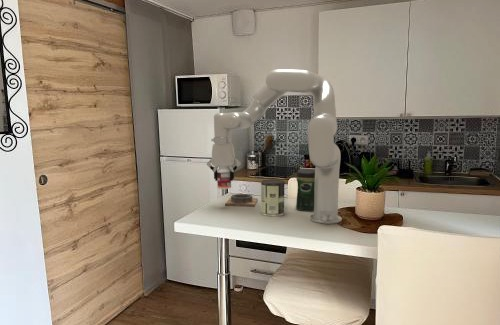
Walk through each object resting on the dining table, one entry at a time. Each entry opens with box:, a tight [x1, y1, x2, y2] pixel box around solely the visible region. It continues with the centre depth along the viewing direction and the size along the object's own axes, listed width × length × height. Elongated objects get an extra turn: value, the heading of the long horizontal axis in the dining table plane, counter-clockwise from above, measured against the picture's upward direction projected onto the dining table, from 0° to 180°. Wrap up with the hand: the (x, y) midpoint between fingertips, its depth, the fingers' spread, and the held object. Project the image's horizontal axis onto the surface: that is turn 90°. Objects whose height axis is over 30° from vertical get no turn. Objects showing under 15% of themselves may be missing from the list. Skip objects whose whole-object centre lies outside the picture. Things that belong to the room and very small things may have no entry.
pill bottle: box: [216, 166, 232, 190], centre depth 166 cm, size 6×6×11 cm
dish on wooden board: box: [224, 193, 258, 208], centre depth 179 cm, size 14×14×4 cm
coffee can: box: [260, 179, 286, 217], centre depth 159 cm, size 10×10×14 cm
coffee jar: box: [295, 168, 315, 212], centre depth 166 cm, size 10×8×19 cm
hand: (224, 180), depth 166 cm, fingers closed on pill bottle, 6 cm apart
